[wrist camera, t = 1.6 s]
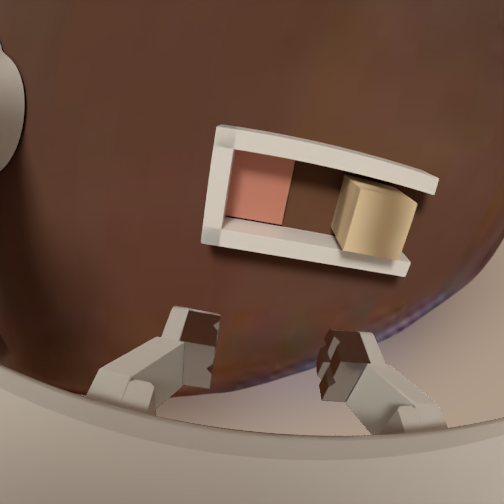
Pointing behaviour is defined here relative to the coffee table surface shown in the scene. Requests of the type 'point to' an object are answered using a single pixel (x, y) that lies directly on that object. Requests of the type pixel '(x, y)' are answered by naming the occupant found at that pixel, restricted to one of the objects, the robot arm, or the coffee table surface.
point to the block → (372, 218)
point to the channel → (276, 192)
